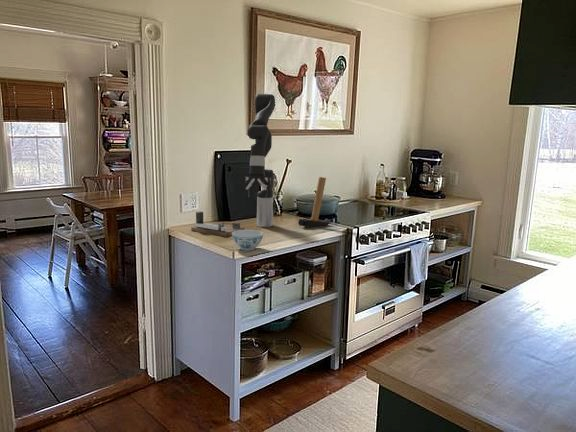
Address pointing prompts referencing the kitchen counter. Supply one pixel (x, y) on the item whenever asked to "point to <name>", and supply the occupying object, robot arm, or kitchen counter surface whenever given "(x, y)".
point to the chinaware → (247, 238)
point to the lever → (210, 226)
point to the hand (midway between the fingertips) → (256, 197)
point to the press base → (227, 232)
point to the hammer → (316, 208)
